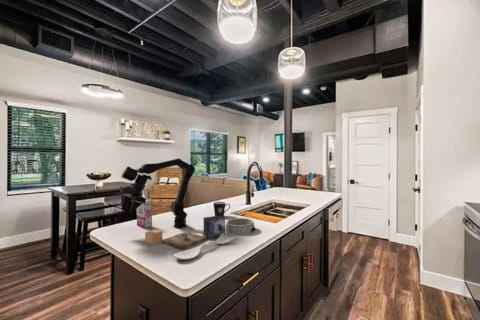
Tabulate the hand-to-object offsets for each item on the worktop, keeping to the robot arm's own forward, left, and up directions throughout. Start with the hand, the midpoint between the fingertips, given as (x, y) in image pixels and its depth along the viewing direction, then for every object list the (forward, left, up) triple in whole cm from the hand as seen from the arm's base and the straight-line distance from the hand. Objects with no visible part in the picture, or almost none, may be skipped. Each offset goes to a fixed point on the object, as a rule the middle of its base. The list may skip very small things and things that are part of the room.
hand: (126, 210), depth 130 cm
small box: (-27, +40, -15) cm, 51 cm away
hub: (-4, +19, -14) cm, 24 cm away
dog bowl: (-44, +45, -15) cm, 65 cm away
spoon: (-11, +49, -15) cm, 52 cm away
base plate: (-13, +32, -14) cm, 38 cm away
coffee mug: (-61, +17, -15) cm, 65 cm away
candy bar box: (-17, -10, -15) cm, 24 cm away
